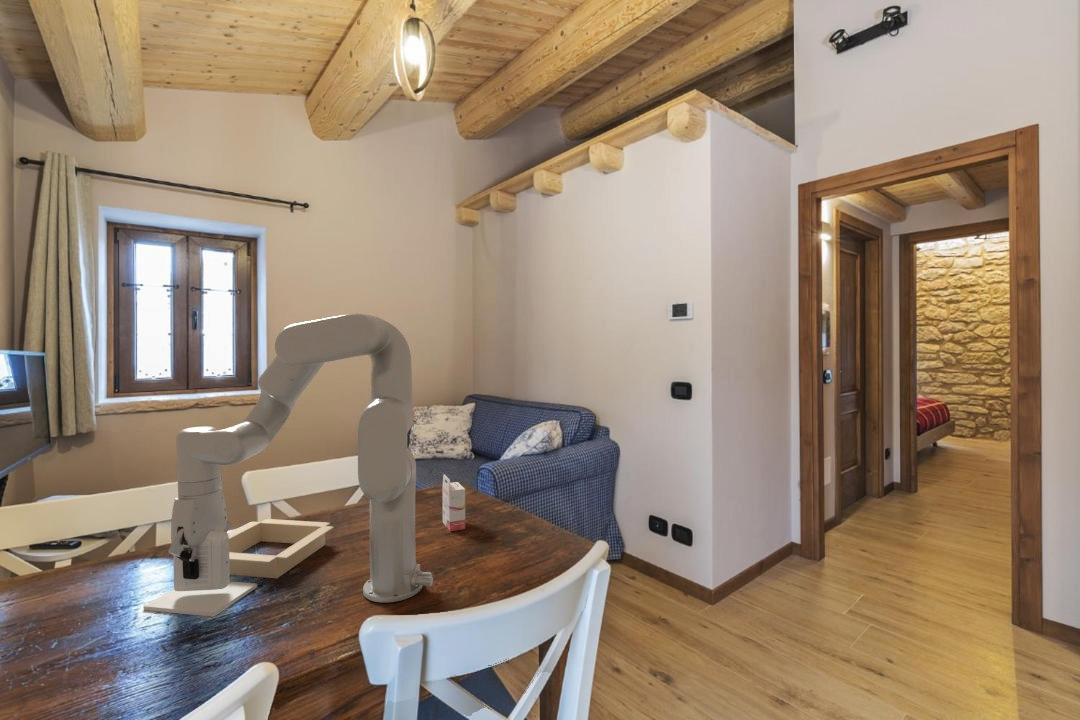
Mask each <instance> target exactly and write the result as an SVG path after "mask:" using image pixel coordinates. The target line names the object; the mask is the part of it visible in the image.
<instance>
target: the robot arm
mask: <svg viewBox="0 0 1080 720" xmlns="http://www.w3.org/2000/svg"><path fill="white" fill-rule="evenodd" d="M274 351H275V354H276V355H275V356H274V358H273V360H271V362H270V364H269V365H268V366H267V367H266V368H265V370H264V371H263V372H262V374H261V375H260V376H259V377H258V383H257V384H258V386H259V390H260V396H259V397H258V400H257V401H256V403H255V404H254V406H253V408H252V409H251V411H250V412H249V414H248V415H247V416H246V417H245V419H244V420H243V421H242V422H241V423H238V424H236V425H232V426H230V427H227V428H224V429H223V428H222V429H217V428H216V427H214V426H195V427H187V428H184V429H181V430H179V431H178V432H177V434H176V438H175V439H176V440H175V444H176V445H175V446H176V447H175V449H176V451H175V452H176V470H177V471H176V473H177V497H175V499H174V502H173V505H172V513H171V521H170V523H171V524H170V528H171V529H170V543H171V545H170V546H169V549H168V551H167V552H168V553H169V554H170V555H172V556H173V555H174V556H176V557H177V558H179V560H180V561H182V562H183V578H184V579H194V580H196V579H198V578H199V561H198V559H196V554H197V549H198V545H199V544H201V543H202V542H204V540H205V538H206V537H207V535H208V534H209V533H210V532H211V531H214V530H221V531H224V532H227V533H228V531H229V530H230V528H231V526H232V523H231V522H230V521H229V520H228V516H227V505H226V498H225V494H224V490H223V488H222V479H223V477H222V474H221V473H222V472H221V471H222V470H221V466H233V465H237V464H240V463H242V462H244V461H247V460H248V459H249V458H251V457H254V456H255V455H258V454H259V453H261V452H262V451H264V450H265V449H266V448H267V447H268V446H269V444H270V443H271V442H272V441H273V439H274V438H275V437H276V436H277V434H278V433H279V431H280V430H281V429H282V428H283V427H284V425H285V423H286V422H287V420H288V419H289V416H290V415H291V412H292V411H293V409H294V407H295V405H296V402H297V400H298V399H299V397H300V396H301V395H302V394H303V392H304V391H305V389H306V388H307V387H308V386H309V384H310V383H311V382H312V380H313V379H314V377H316V375H317V373H318V372H319V371H320V369H321V368H322V367H323V366H324V364H325V363H328V362H334V361H335V362H336V361H338V360H339V361H340V360H344V359H349V358H355V357H362V356H369V358H370V360H371V371H370V383H371V384H370V387H371V388H370V403H369V404H368V405H367V406H366V407H365V408H364V409H363V411H362V413H361V415H360V417H359V420H358V425H357V479H358V486H359V488H360V490H361V492H362V493H363V495H364V496H365V497H366V498H367V499H369V564H370V565H369V571H370V576H369V579H368V580H366V581H365V583H364V585H362V593H363V596H364V597H365V598H366V599H367V600H369V601H371V602H375V603H395V602H400V601H405V600H408V599H409V598H411V597H413V596H416V595H417V594H419V592H421V590H422V589H423V587H432V586H433V584H434V583H433V582H434V577H433V576H432V575H433V574H432V572H430V571H425V572H424V571H422V570H421V564H420V563H417V562H416V559H417V558H416V488H417V487H416V484H417V464H416V458H415V456H414V454H413V452H412V451H411V450H410V449H409V448H408V432H409V431H410V430H411V428H412V426H413V422H414V410H413V380H412V379H413V377H412V376H413V375H412V372H413V371H412V367H413V366H412V356H411V355H412V354H411V350H410V346H409V344H408V341H407V339H406V337H405V336H404V335H403V333H402V332H401V331H400V330H399V329H398V328H397V327H396V326H394V325H393V324H392V323H390V322H389V321H386V320H385V319H383V318H380V317H379V316H378V317H377V316H374V315H370V314H363V313H348V314H342V315H337V316H331V317H326V318H322V319H315V320H311V321H310V320H309V321H304V322H299V323H293V324H290V325H287V326H286V327H284V328H283V329H282V330H281V331H280V332H279V333H278V335H277V337H276V338H275V342H274ZM181 546H182V547H181ZM188 548H191V550H190V553H188V552H187V551H188Z"/></svg>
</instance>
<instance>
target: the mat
mask: <svg viewBox="0 0 1080 720" xmlns="http://www.w3.org/2000/svg"><path fill="white" fill-rule="evenodd" d="M257 588H258V583H254V582H252V583H251V582H241V581H240V582H239V581H230V580H229V585H228V586H227V587H225V588H223V589H216V590H197V591H175V590H174V588H173V589H171V590H170V591H167V592H166V593H164V594H163V595H161V596H159V597H157V598H155V599H154V600H152V601H150V602H149V603H147V604H144V605H143V611H148V610H149V611H150V612H160V613H168V614H169V613H171V614H180V615H181V614H182V615H193V616H202V617H212V618H214V617H216V616H217V615H219V614H220V613H222V612H224V610H226V609H228V608H229V607H230V606H232V605H234V604H235V603H236V602H238V601H239V600H241V599H242V598H243V597H245V596H246V595H248V594H249V593H251V592H252V591H254V590H255V589H257Z"/></svg>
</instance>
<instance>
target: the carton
mask: <svg viewBox="0 0 1080 720" xmlns="http://www.w3.org/2000/svg"><path fill="white" fill-rule="evenodd" d="M330 524H331V522H325V521H323V522H322V521H309V520H306V521H305V520H295V519H293V520H291V519H279V518H276V519H275V518H274V519H273V518H265V519H263V520H261V521H249V522H248V523H246V524H244V525H241V526H240V527H237V528H235V529H234V530H231V531H230V532H227V533H228V536H229V566H230V576H244V577H253V578H266V579H267V578H268V579H279V578H280V577H281V576H282V575H284V574H286V573H287V572H288V571H290V570H291V569H292V568H294V567H295V566H298V565H299V564H300V563H301V562H303V561H304V560H305V559H307V558H308V557H310V556H311V555H312V554H314V553H315V552H317V551H318V550H319V549H321V548H323V547H324V546H325V545H326V534H327V533H328V532H330V531H331V530H332V529H334V528H335V527H334V526H331V525H330ZM329 525H330V526H329ZM260 542H266V543H284V544H292V545H291V546H289V547H286V549H284V550H283V551H281V552H279V553H278V554H276V555H272V554H271V555H270V554H259V553H258V554H257V553H243V552H244V551H246V550H247V549H249V548H251V547H253V546H255V545H256V544H258V543H260Z"/></svg>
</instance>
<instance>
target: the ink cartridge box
mask: <svg viewBox="0 0 1080 720" xmlns="http://www.w3.org/2000/svg"><path fill="white" fill-rule="evenodd" d="M442 475H443V477H442V489H441V490H442V523H443V525H444V526H445V527H446V529H448V531H449V532H454V531H461V530H465V529H466V488H465V487H464V486H463V485H461V484H460V482H459V481H455V482H451V479H450V478H449V477H448V476H447V474H445V473H443V474H442Z"/></svg>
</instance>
